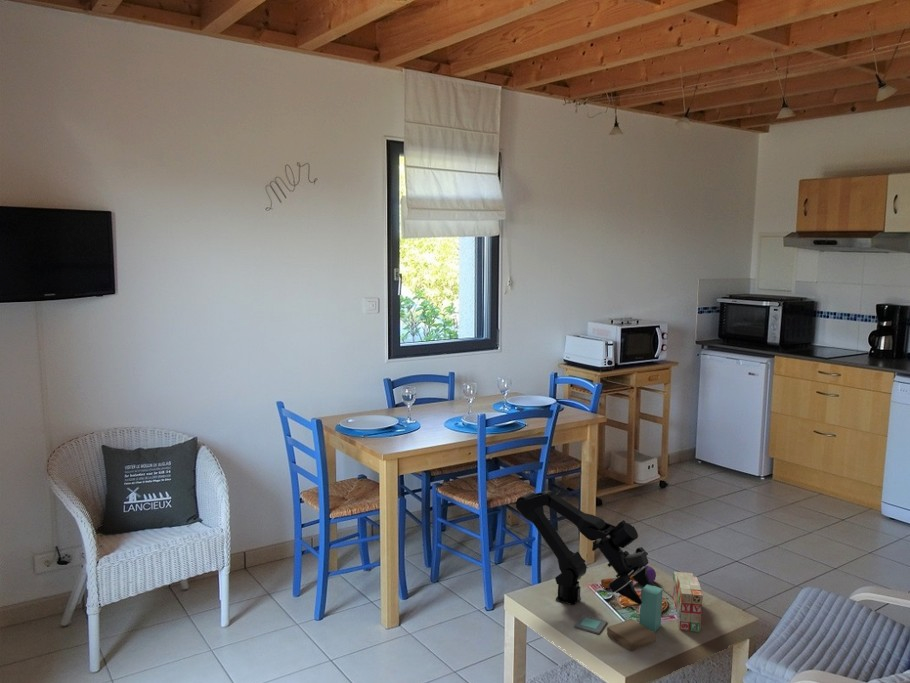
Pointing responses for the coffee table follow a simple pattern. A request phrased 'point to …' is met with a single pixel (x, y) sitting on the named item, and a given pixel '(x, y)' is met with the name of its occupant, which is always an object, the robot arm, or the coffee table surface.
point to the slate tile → (590, 624)
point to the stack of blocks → (687, 601)
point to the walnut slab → (631, 634)
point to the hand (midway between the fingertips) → (646, 597)
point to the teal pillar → (651, 607)
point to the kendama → (650, 573)
